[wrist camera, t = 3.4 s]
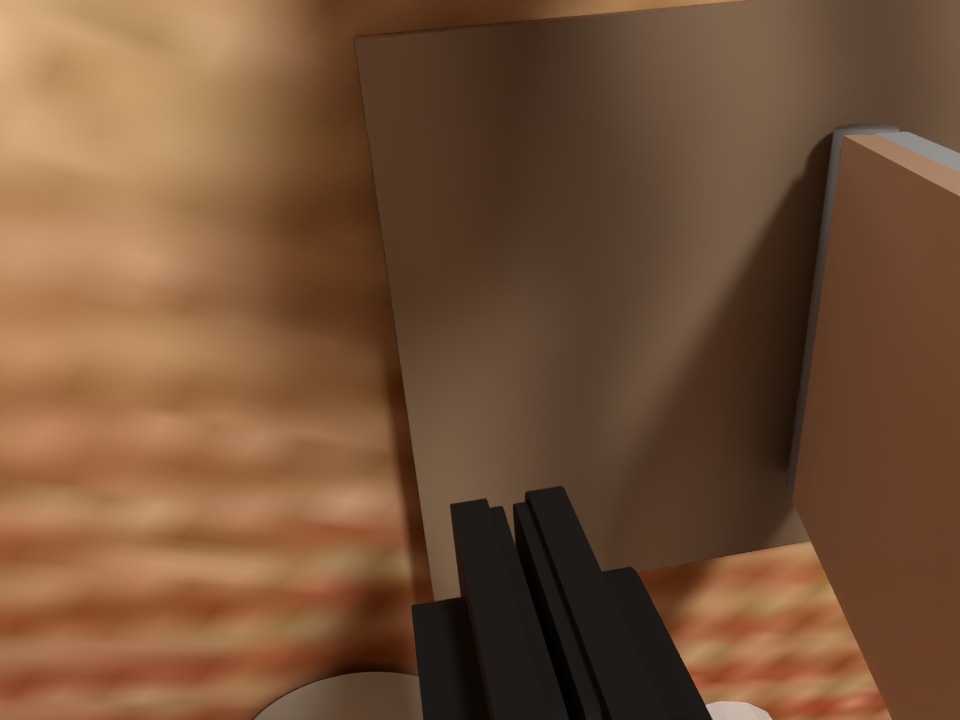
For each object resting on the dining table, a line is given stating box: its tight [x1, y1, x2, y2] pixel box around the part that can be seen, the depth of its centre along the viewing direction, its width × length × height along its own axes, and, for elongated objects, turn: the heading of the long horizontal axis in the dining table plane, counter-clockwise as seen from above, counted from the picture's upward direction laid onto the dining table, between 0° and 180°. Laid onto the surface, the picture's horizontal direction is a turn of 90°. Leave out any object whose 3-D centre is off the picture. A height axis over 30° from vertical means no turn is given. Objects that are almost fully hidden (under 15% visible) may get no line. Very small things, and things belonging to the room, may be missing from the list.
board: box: [354, 0, 960, 601], centre depth 18 cm, size 20×14×2 cm
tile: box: [786, 124, 960, 720], centre depth 13 cm, size 10×9×1 cm
